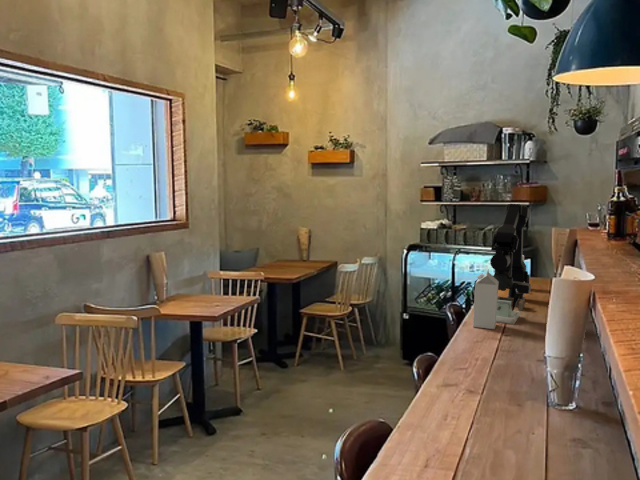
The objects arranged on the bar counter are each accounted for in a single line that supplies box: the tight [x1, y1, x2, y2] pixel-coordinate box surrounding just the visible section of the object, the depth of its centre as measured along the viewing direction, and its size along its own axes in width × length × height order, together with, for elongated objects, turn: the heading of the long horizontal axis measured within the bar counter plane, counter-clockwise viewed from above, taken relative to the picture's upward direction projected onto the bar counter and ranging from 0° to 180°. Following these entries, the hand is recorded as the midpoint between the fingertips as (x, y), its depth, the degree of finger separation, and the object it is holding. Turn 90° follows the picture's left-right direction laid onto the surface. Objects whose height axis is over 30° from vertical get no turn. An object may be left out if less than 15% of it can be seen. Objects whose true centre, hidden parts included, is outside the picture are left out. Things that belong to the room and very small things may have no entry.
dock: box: [497, 295, 526, 312], centre depth 233 cm, size 7×10×3 cm, turn 63°
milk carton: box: [472, 268, 499, 330], centre depth 205 cm, size 7×7×19 cm
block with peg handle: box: [496, 300, 512, 317], centre depth 217 cm, size 8×6×5 cm
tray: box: [496, 309, 521, 325], centre depth 217 cm, size 12×12×2 cm
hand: (500, 309), depth 217 cm, fingers open, 8 cm apart
